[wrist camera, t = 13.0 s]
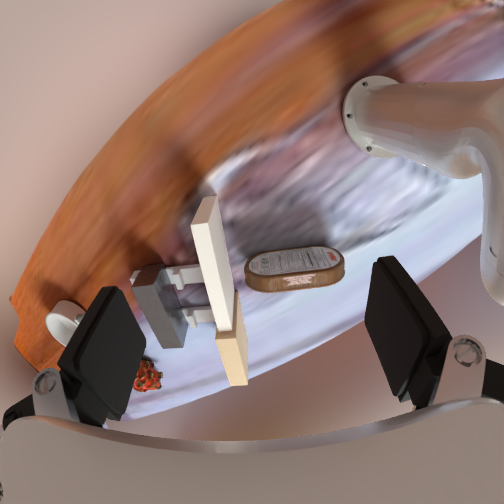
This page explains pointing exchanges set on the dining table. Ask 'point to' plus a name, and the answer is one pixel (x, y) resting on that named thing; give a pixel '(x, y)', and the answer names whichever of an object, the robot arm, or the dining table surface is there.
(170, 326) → the grey metal block
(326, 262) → the tin
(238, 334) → the white rack
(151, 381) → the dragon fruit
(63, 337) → the saucepan
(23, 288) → the dining table surface
